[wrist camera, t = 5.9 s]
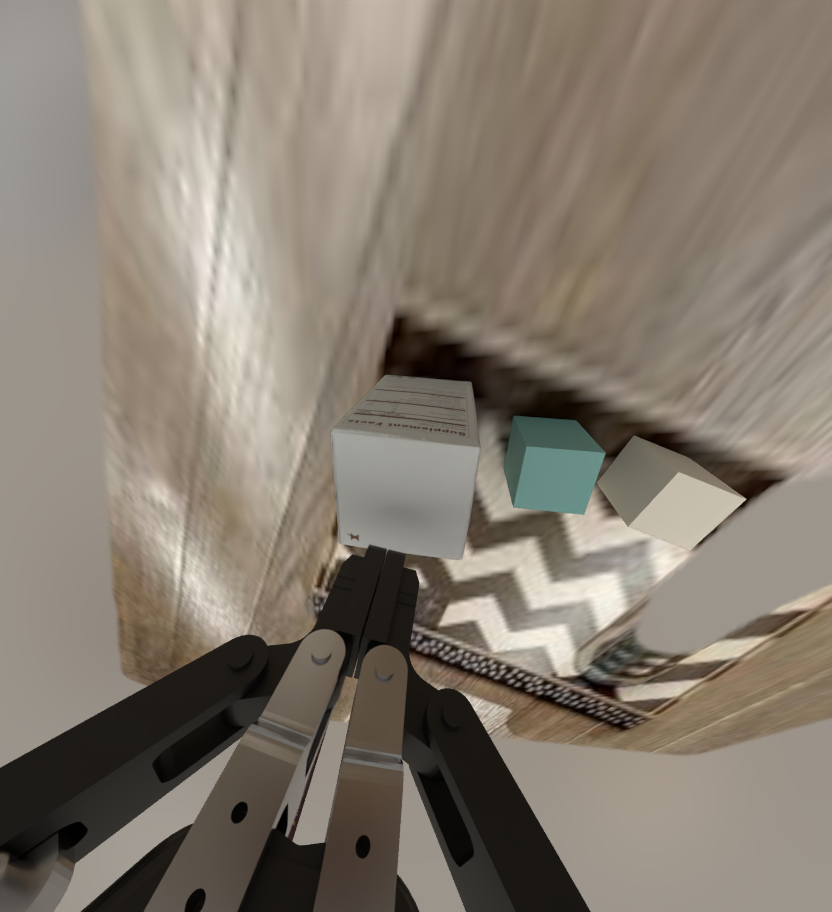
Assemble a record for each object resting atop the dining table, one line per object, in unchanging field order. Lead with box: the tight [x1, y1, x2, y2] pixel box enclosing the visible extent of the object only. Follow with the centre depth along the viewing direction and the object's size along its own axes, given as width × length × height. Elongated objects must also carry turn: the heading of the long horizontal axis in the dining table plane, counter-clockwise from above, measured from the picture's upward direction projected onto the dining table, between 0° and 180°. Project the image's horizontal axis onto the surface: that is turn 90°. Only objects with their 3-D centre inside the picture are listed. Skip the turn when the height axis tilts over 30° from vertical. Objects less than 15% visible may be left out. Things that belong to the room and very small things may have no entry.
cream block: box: [597, 436, 746, 551], centre depth 24 cm, size 5×5×6 cm
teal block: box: [504, 416, 605, 515], centre depth 24 cm, size 5×5×6 cm
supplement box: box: [331, 375, 481, 560], centre depth 22 cm, size 7×7×13 cm
